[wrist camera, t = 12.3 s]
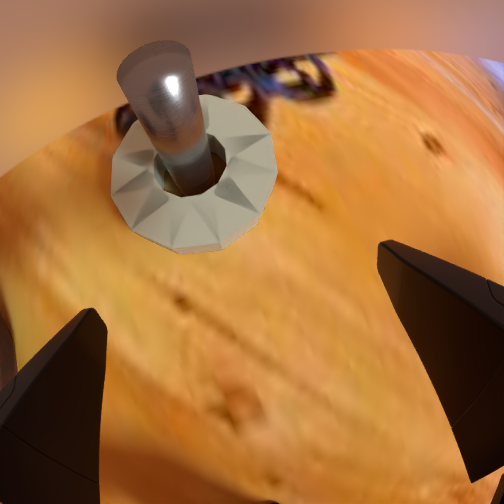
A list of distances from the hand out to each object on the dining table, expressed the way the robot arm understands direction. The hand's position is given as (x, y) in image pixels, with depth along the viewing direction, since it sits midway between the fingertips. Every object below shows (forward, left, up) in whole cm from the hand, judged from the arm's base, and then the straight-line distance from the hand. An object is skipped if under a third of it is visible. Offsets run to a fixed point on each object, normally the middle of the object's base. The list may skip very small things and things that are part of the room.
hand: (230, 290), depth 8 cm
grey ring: (+3, +9, -13) cm, 16 cm away
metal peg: (+3, +9, -13) cm, 16 cm away
